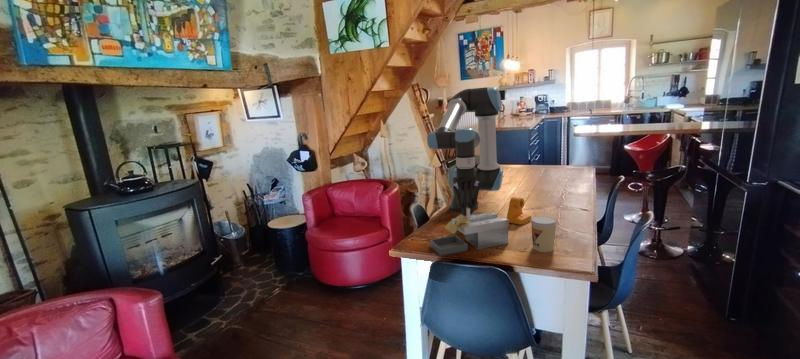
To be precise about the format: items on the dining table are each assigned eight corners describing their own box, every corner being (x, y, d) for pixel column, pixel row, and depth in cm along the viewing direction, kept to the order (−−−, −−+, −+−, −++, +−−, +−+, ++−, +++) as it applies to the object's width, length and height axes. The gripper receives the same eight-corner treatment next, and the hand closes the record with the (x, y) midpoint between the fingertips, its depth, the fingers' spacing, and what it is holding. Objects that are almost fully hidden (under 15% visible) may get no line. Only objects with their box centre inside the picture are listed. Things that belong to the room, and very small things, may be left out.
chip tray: (430, 246, 160) (430, 239, 159) (456, 241, 163) (455, 235, 162) (440, 256, 149) (440, 249, 149) (467, 251, 152) (467, 244, 152)
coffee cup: (526, 245, 154) (527, 217, 152) (548, 242, 155) (549, 215, 152) (536, 254, 145) (537, 224, 143) (560, 251, 146) (561, 222, 143)
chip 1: (450, 232, 157) (444, 227, 156) (455, 225, 157) (449, 220, 156) (453, 234, 154) (447, 230, 152) (459, 228, 154) (453, 223, 152)
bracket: (520, 226, 176) (520, 201, 173) (506, 223, 181) (506, 199, 179) (532, 220, 183) (532, 196, 180) (518, 217, 188) (518, 194, 185)
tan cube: (456, 225, 157) (456, 217, 156) (463, 223, 158) (463, 215, 157) (460, 227, 154) (459, 219, 153) (467, 226, 155) (467, 218, 154)
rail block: (452, 241, 163) (451, 218, 161) (493, 234, 168) (493, 211, 166) (464, 252, 152) (464, 227, 149) (508, 243, 157) (508, 219, 155)
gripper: (454, 170, 146) (457, 227, 151) (484, 166, 149) (485, 222, 154) (447, 167, 153) (449, 222, 158) (475, 163, 156) (477, 217, 161)
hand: (467, 222), depth 156 cm, fingers closed
